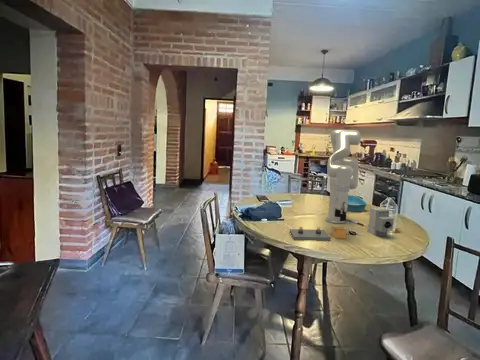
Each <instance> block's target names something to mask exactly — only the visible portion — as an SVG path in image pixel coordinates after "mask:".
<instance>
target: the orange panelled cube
mask: <svg viewBox="0 0 480 360" xmlns="http://www.w3.org/2000/svg"><path fill="white" fill-rule="evenodd" d="M331 228H332V229H331V235H332V236H333V238H334V239H344V240H345V239H346V237H347V229H346V228H345V227H344V226H332V227H331Z"/></svg>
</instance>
